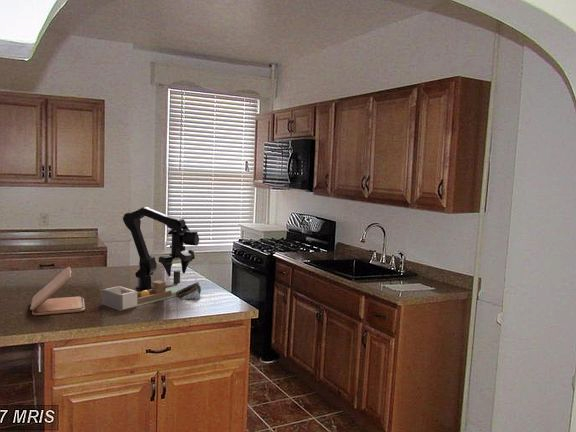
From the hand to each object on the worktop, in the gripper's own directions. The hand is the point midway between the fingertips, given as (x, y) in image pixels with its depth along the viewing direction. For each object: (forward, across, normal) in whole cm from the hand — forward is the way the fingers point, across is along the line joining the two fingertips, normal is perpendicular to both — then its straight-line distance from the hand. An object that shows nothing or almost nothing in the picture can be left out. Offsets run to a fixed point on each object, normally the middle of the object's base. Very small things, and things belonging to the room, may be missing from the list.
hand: (176, 274), depth 245 cm
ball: (+6, -19, 0) cm, 20 cm away
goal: (+9, -32, 0) cm, 33 cm away
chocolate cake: (+9, -3, -13) cm, 16 cm away
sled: (+8, -6, 0) cm, 10 cm away
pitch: (+8, -17, 0) cm, 19 cm away
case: (+9, -52, +16) cm, 55 cm away
